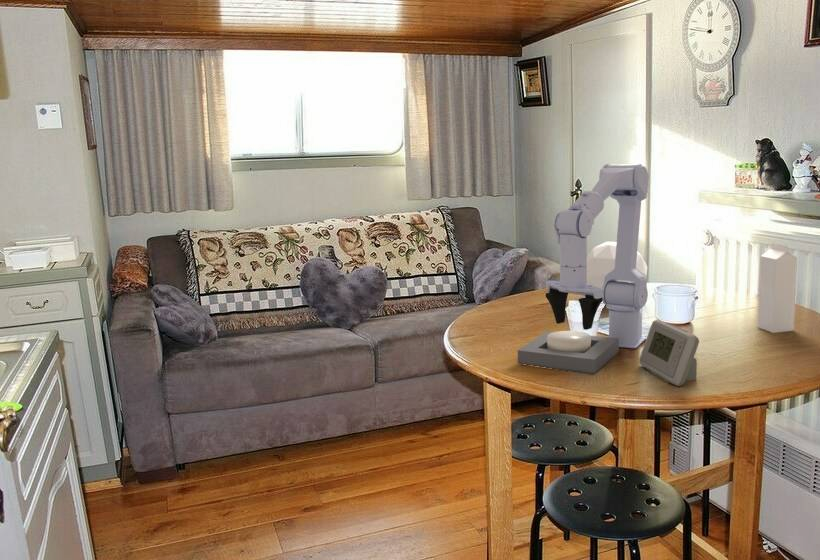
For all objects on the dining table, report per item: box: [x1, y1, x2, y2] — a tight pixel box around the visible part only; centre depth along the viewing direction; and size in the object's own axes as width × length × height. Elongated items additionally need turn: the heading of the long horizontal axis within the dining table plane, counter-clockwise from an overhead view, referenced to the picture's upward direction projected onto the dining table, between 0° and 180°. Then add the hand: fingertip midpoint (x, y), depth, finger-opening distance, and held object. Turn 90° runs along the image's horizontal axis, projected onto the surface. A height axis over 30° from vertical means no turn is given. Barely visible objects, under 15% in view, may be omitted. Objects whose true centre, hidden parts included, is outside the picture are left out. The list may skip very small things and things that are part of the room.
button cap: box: [547, 330, 592, 353], centre depth 169 cm, size 10×10×3 cm
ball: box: [587, 241, 648, 288], centre depth 220 cm, size 19×20×20 cm
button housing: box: [517, 330, 620, 376], centre depth 169 cm, size 18×18×4 cm
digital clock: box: [638, 319, 700, 387], centre depth 154 cm, size 16×9×11 cm, turn 179°
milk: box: [757, 242, 798, 334], centre depth 183 cm, size 6×6×22 cm
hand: (573, 325), depth 160 cm, fingers open, 7 cm apart
